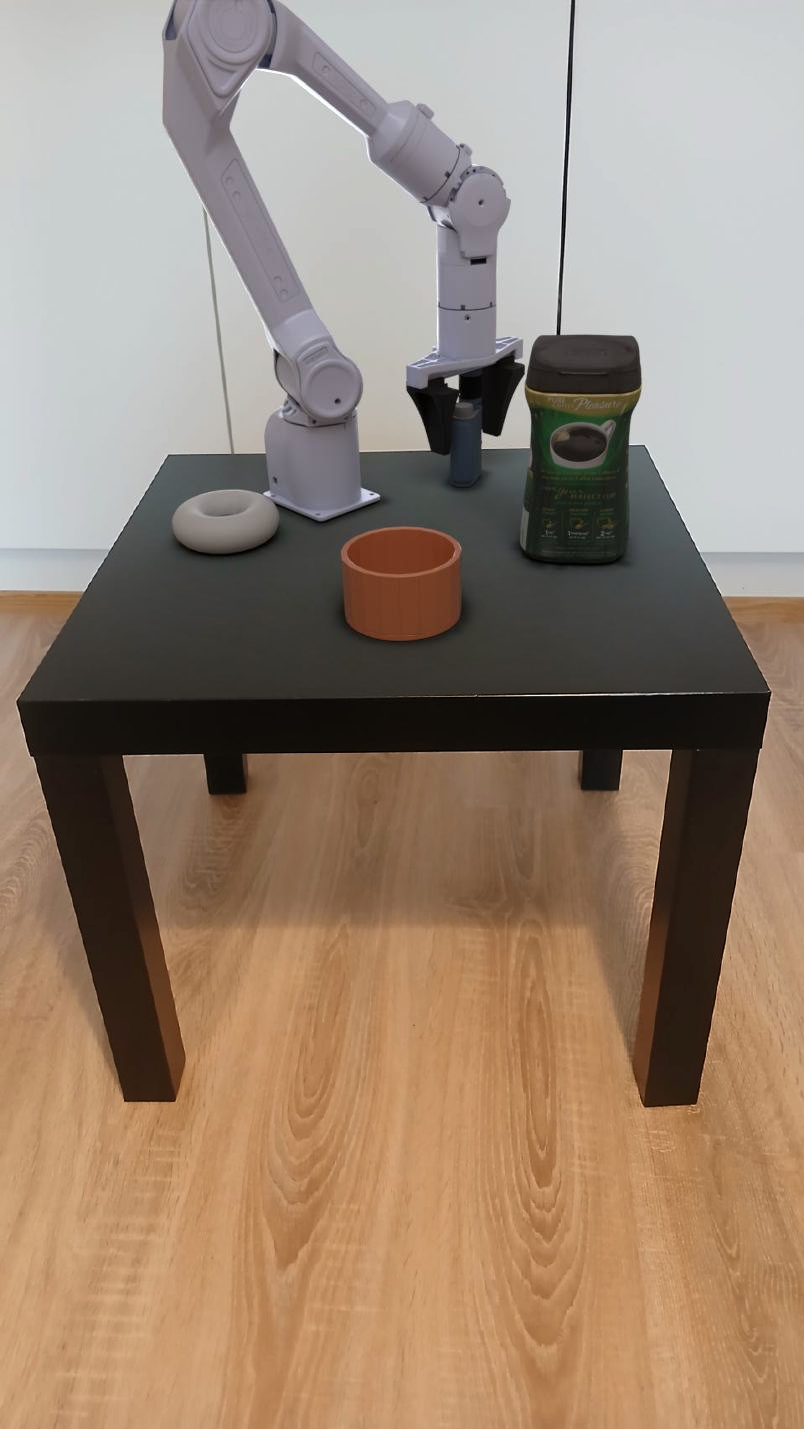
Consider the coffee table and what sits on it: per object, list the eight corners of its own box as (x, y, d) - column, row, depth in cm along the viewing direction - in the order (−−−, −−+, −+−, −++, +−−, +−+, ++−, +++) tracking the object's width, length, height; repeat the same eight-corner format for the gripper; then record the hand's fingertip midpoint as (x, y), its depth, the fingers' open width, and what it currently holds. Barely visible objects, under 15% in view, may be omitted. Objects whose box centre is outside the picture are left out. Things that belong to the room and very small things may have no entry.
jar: (321, 613, 86) (316, 551, 83) (405, 576, 91) (403, 517, 88) (400, 653, 80) (397, 588, 77) (485, 611, 85) (486, 549, 82)
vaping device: (484, 471, 112) (486, 355, 105) (470, 489, 108) (471, 370, 101) (461, 469, 113) (461, 354, 106) (446, 487, 108) (446, 368, 102)
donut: (158, 558, 96) (262, 562, 94) (151, 522, 94) (258, 526, 92) (197, 515, 104) (294, 518, 102) (192, 482, 102) (290, 484, 101)
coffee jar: (625, 532, 98) (646, 324, 87) (628, 570, 91) (650, 349, 81) (520, 528, 99) (529, 323, 89) (515, 565, 92) (524, 347, 82)
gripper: (487, 285, 107) (486, 418, 115) (382, 311, 99) (387, 452, 106) (541, 295, 103) (535, 432, 110) (435, 322, 95) (437, 468, 102)
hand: (466, 443), depth 108 cm, fingers open, 7 cm apart
